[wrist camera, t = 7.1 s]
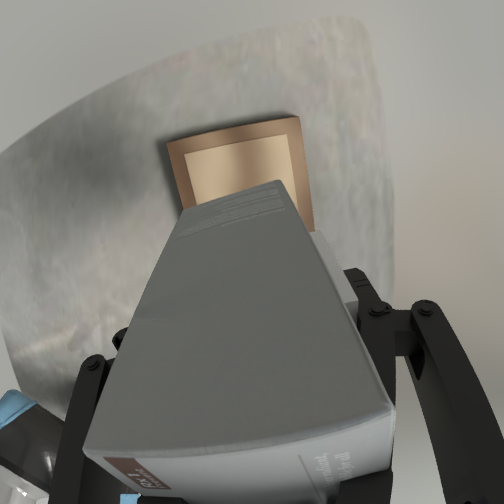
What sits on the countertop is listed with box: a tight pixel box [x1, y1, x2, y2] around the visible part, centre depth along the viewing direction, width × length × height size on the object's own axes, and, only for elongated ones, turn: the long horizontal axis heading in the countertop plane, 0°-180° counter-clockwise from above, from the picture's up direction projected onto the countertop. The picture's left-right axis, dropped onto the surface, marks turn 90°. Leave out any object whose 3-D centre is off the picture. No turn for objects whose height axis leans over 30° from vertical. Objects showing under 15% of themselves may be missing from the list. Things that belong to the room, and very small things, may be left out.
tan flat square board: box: [166, 116, 315, 232], centre depth 31 cm, size 13×13×2 cm
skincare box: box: [82, 179, 396, 504], centre depth 13 cm, size 8×7×16 cm
